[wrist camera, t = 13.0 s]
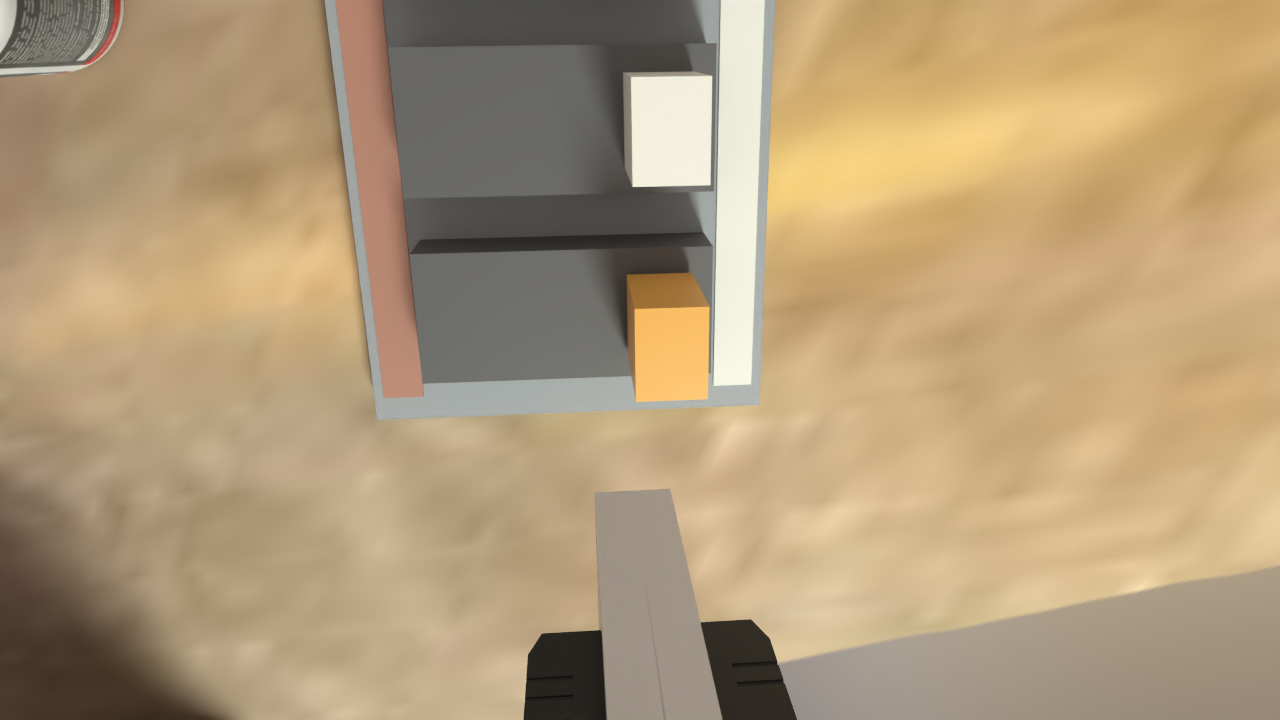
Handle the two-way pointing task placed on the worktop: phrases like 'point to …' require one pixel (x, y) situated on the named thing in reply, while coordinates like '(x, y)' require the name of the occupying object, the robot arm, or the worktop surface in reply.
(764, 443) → the worktop surface
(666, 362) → the block
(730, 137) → the panel
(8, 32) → the pill bottle
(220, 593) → the worktop surface
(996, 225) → the worktop surface
